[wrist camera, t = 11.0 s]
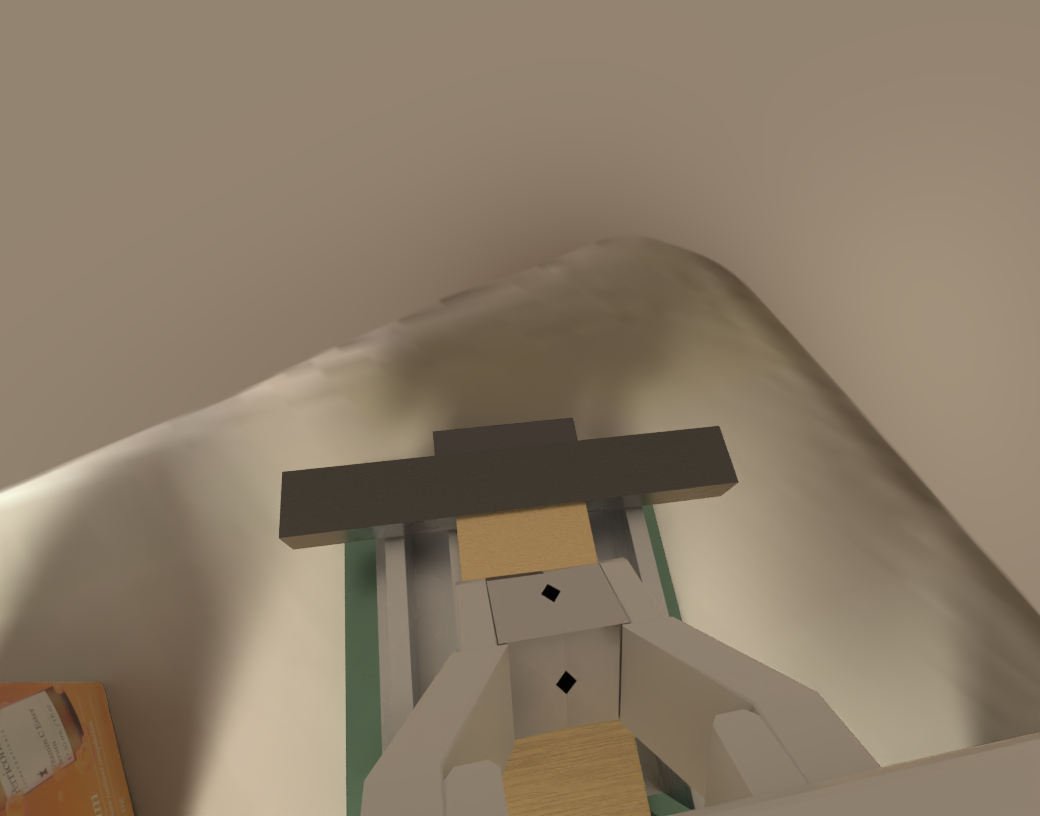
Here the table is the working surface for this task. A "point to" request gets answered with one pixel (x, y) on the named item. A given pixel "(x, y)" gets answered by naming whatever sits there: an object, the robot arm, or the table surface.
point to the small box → (59, 751)
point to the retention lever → (521, 559)
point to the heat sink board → (434, 623)
